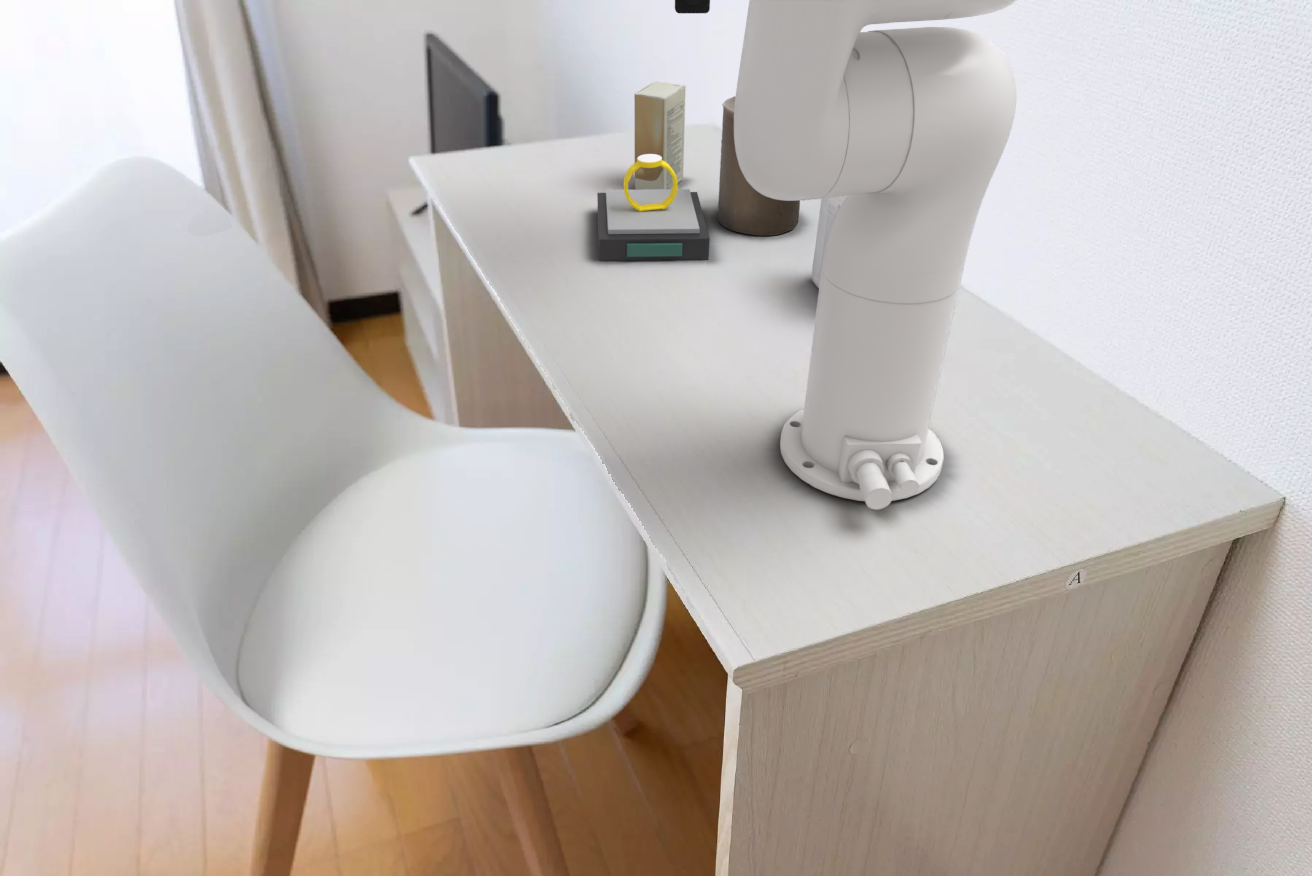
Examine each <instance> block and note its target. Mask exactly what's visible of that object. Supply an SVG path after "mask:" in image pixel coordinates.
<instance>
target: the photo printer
mask: <svg viewBox="0 0 1312 876" xmlns="http://www.w3.org/2000/svg"><path fill="white" fill-rule="evenodd" d="M846 197H847V196H840V197H831V198H823V199H820V205H819V215H818V222H817V231H816V238H815V246H814V253H813V259H812V260H813V261H812V268H811V269H812V270H811V280H812V282H813V283H814V285H815V286H816V287H817V289H819V286H820V278H821V270H822V264H823V256H824V249H825V244H826V240H827V236H828V233H829V230H830V228H831V225H832V223H833V221H834V218H835V216H836V214H837V213H838V211H839V209H840V207H841V205H842V204H843V202H844V200H845V199H846Z"/></svg>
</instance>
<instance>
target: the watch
mask: <svg viewBox="0 0 1312 876" xmlns="http://www.w3.org/2000/svg"><path fill="white" fill-rule="evenodd" d="M658 166H661V167H663V168H665V169H667V170H668V171H669V173H670V174H671V175H672V180H673V187H672V190H671V192H670V195H669V196H668V197H667V198H666V199H665V200H664V201H663V202H662V203H653V204H645V205H640V204H638V203H637V202H635V201H634V200H632V199H631V197H630V195H629V193H628V190H629V182H630V180H631V179H632V176H633V175H634V174H635V171H636V170H638V169H639V168H640V167H643V168H655V167H658ZM678 185H679V183H678V184H677V177H676V175H675V172H674V171H673V170H672V168H671V167H670V165H669V164H667V162H665V161H663V160H662V157H661V156H660V155H656V154H644V155H641V156H639V157H638V158H637V162H635V161H634V163H633V164H631V165H630V166H629V167H628V169H627V170H626V173H625V175H624V177H623V190H624V193H625V196H626V198H627V200H628V202H629V203H630V205H631V206H632V207H634V208H635V209H637V210H638V211H640V212H641V211H648V210H659V209H666V208H667V207H668V206H669V205H670V204H671V203H672V202H673V200H674V199H675V196H676V193H677V191H678V189H679V186H678Z"/></svg>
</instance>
